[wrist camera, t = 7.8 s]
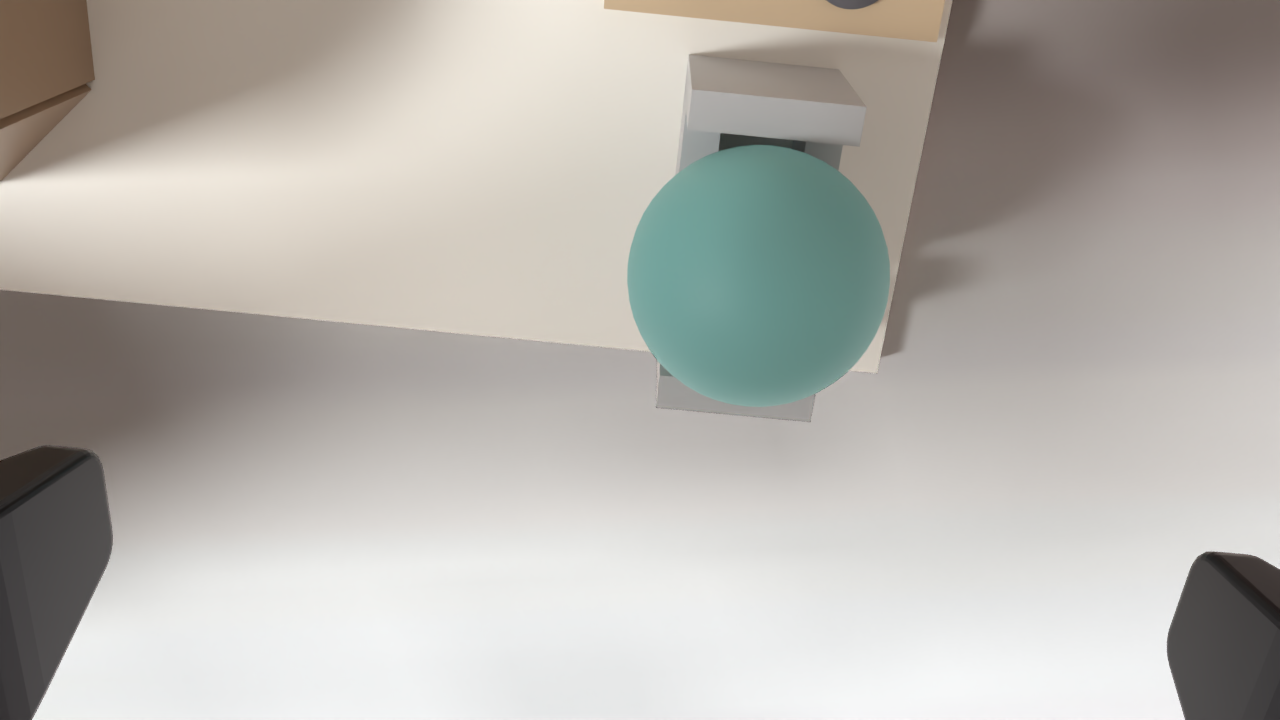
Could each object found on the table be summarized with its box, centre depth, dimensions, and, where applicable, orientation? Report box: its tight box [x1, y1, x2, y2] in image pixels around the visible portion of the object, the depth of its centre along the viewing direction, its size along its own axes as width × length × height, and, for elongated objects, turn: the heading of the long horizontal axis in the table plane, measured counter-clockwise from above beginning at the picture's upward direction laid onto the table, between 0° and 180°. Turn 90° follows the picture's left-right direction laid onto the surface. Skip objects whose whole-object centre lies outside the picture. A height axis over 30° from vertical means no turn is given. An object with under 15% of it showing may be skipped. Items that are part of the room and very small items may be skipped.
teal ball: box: [627, 145, 890, 407], centre depth 17 cm, size 4×4×4 cm
